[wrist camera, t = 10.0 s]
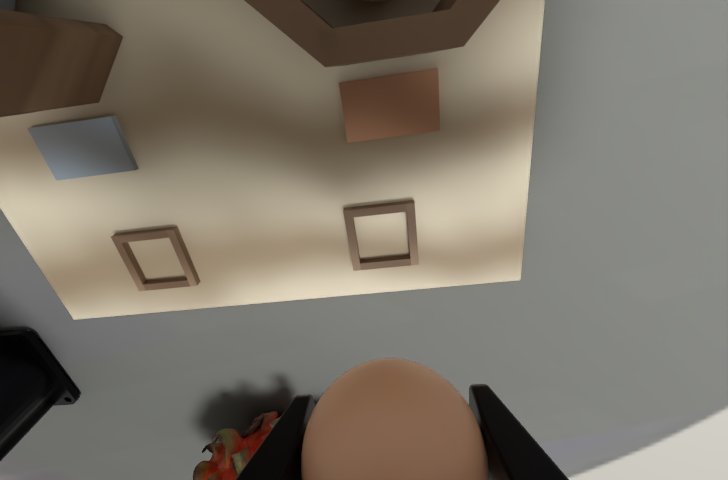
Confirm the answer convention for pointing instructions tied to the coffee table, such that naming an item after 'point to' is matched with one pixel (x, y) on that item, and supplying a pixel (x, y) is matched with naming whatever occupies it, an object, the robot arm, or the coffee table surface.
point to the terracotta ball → (393, 427)
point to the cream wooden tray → (266, 147)
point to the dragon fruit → (234, 449)
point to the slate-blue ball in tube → (8, 5)
